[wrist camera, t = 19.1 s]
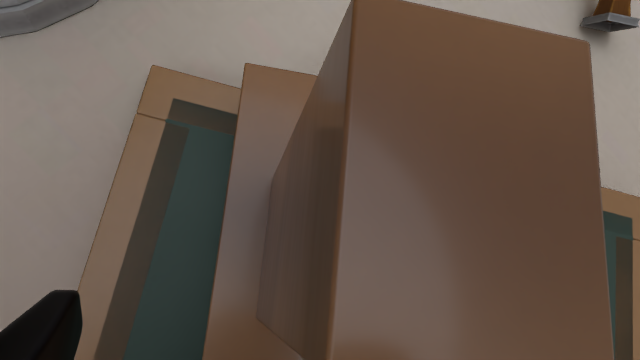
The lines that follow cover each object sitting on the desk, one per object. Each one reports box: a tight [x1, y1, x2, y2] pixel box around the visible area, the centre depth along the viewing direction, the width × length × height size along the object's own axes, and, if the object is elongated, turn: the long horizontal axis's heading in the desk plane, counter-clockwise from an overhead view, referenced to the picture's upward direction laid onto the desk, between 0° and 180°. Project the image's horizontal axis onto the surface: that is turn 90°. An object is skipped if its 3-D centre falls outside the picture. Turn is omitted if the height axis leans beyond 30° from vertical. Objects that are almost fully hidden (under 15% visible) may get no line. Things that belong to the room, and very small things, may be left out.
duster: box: [202, 0, 614, 360], centre depth 10 cm, size 11×6×12 cm, turn 175°
